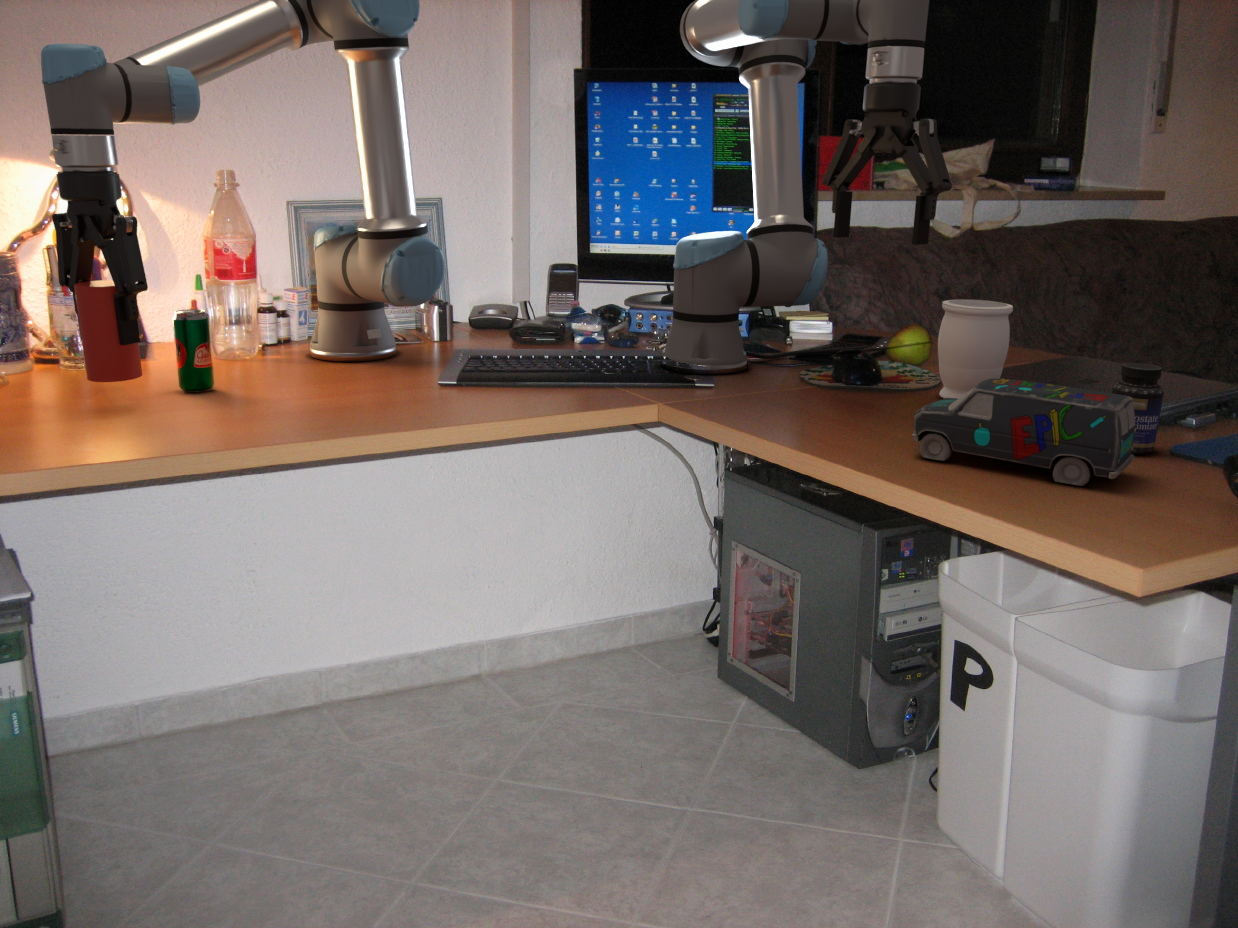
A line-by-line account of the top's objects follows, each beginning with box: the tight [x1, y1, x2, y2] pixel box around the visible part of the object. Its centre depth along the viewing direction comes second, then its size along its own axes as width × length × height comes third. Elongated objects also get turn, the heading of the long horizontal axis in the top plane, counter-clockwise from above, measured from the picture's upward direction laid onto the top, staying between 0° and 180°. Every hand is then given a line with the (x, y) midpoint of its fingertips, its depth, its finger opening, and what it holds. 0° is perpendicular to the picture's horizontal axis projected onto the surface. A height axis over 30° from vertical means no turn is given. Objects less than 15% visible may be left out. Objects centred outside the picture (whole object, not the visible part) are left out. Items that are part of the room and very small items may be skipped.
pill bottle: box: [1111, 362, 1165, 455], centre depth 139 cm, size 6×6×11 cm
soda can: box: [172, 308, 215, 393], centre depth 162 cm, size 5×5×12 cm
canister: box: [74, 279, 143, 383], centre depth 148 cm, size 7×7×13 cm
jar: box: [937, 298, 1014, 399], centre depth 166 cm, size 11×10×15 cm
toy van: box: [911, 377, 1136, 487], centre depth 131 cm, size 11×25×10 cm, turn 54°
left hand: (110, 340), depth 148 cm, fingers closed on canister, 7 cm apart
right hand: (879, 241), depth 152 cm, fingers open, 13 cm apart
